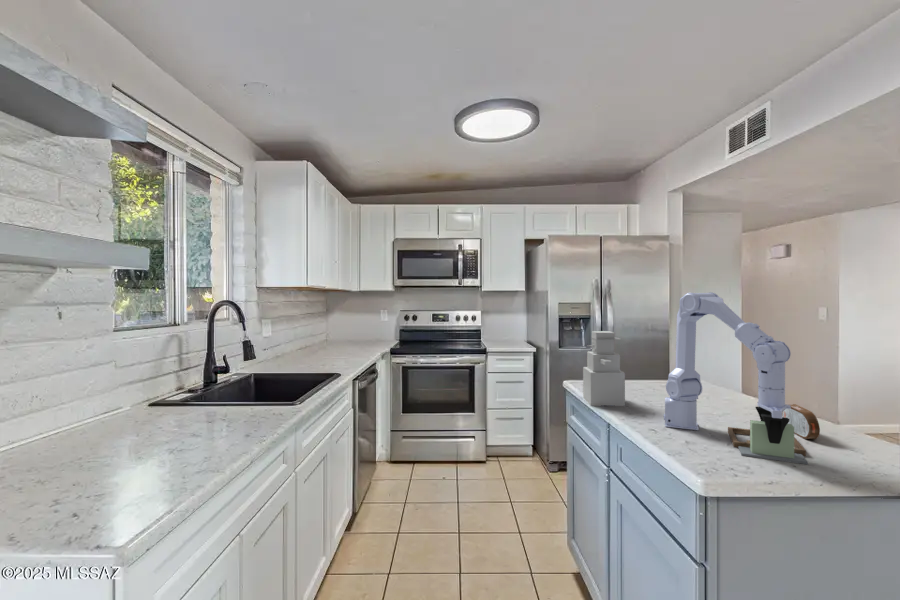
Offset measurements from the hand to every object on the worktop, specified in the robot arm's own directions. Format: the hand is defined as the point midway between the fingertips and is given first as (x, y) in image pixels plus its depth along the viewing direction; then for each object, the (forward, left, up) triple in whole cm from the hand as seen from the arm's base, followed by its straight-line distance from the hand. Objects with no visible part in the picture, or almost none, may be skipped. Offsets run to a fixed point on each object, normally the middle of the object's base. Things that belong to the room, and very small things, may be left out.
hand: (771, 438), depth 116 cm
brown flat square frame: (0, +11, -5) cm, 12 cm away
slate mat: (0, 0, -5) cm, 5 cm away
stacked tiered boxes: (-48, +42, -5) cm, 64 cm away
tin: (+11, +24, -5) cm, 27 cm away
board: (0, 0, -4) cm, 4 cm away
